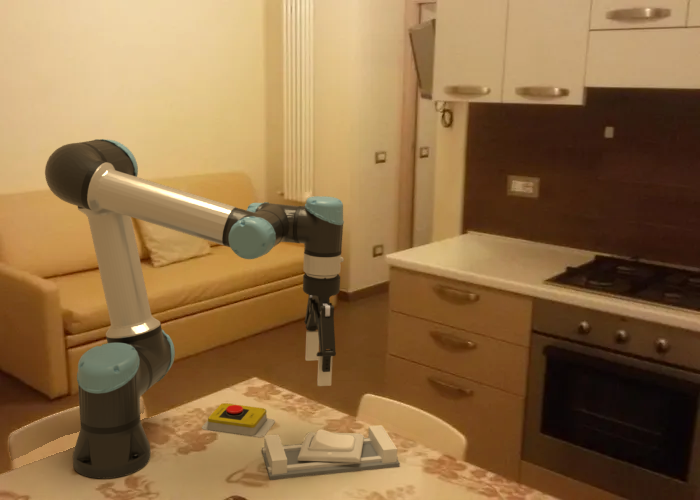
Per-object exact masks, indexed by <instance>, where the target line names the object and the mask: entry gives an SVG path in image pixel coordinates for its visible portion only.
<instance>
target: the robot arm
mask: <svg viewBox="0 0 700 500" xmlns="http://www.w3.org/2000/svg"><path fill="white" fill-rule="evenodd" d="M46 161H47V162H46V164H45V167H44V176H45V181H46V184H47V186H48V188H49V190H50V191H51V192H52V193H53V195H55V196H56V197H57V198H58V199H60V200H61V201H63V202H65V203H68V204H70V205H73V206H75V207H77V210H78V211H79V212H80V213H83V214H84V215H85V216H86V217H87V220H88V224H89V225H88V226H89V229H90V234H91V238H92V239H91V240H92V242H93V243H92V244H93V248H94V252H95V256H96V261H97V266H98V271H99V275H100V279H101V284H102V289H103V293H104V298H105V302H106V307H107V312H108V316H109V322H110V326H109V328H108V329H107V331H106V332H105V338H106V342H107V343H104V344H101V345H100V346H99V345H97V346H93V347H91V348H90V349H88V350H87V351H85V352H84V353H82V355H81V356H80V359H78V363H77V373H76V381H77V386H78V389H77V390H78V403H79V404H78V405H79V420H80V421H79V422H80V430H79V432H78V436H77V440H76V441H75V442H76V443H75V445H74V450H73V452H72V453H73V454H72V463H73V469H74V470H75V472H77V473H78V474H80V475H82V476H84V477H86V478H87V477H88V478H91V479H93V478H95V479H113V478H114V479H115V478H119V477H124V476H128V475H130V474H132V473H135V472H137V471H139V470H141V469H143V468H144V467H145V466H146V465H147V464H148V462H149V461H150V459H151V445H150V442H149V439H148V437H147V434H146V432H145V429H144V427H143V424H142V422H141V397H142V396H143V395H144V394H145V393H146V392H148V390H150V388H152V387H153V386H154V385H155V384H156V383H158V382H159V381H161V380H162V379H164V377H165V376H166V375H167V373H168V372H169V371H170V369H171V367H172V366H173V364H174V362H175V355H176V351H175V345H174V343H173V340H172V338H171V337H170V335H169V334H167V333H166V332H165V330H164V329H162V323H161V321H160V320H159V319H156V317H154V316H153V315H152V312H151V306H150V301H149V297H148V293H147V288H146V283H145V278H144V274H143V273H144V272H143V268H142V263H141V258H140V253H139V250H138V245H137V240H136V234H135V230H134V226H133V225H134V224H133V220H132V218H134V219H137V220H141V221H143V222H147V223H150V224H153V225H156V226H159V227H163V228H166V229H170V230H172V231H174V232H180V233H183V234H185V235H188V236H192V237H196V238H199V239H202V240H205V241H208V242H210V243H211V242H212V243H215V244H217V245H222V246H224V247H227V248H230V249H231V251H233V253H234V254H235V255H236V256H237V257H239V258H241V259H244V260H256V259H258V258H262V257H263V256H266V255H267V254H268V253H269V252H270V251H271V250H272V249H274V247H276V246H277V245H279V244H280V243H292V244H293V243H294V244H303V247H304V251H303V267H302V269H303V272H304V274H303V277H302V291H303V292H304V294H306V295H308V299H307V305H306V310H305V311H306V312H305V317H304V322H303V323H304V324H305V329H306V333H305V358H304V359H305V361H307V362H309V361H312V362H313V361H317V377H316V378H317V380H316V384H317V387H328V386H329V387H330V386H332V379H333V378H332V377H333V376H332V375H333V358H334V357H336V354H337V352H336V340H335V338H336V336H335V319H334V317H335V316H334V314H335V307H334V305H333V303H332V302H331V301H330V298H331V297H333V296H337V295H338V294H339V293H340V290H341V276H340V274H341V267H342V266H341V263H344V262H345V261H344V260H345V259H344V257H342V251H343V250H342V247H343V234H344V223H345V221H344V204H343V202H342V200H341V199H339V198H337V197H335V196H323V195H322V196H319V195H317V196H315V195H313V196H310V197H307V199H306V201H305V204H304V205H292V204H281V203H280V204H279V203H270V202H266V201H265V202H253V203H250V204H248V206H247V208H246V209H243V208H238V207H236V206H234V205H231V204H228V203H224V202H221V201H218V200H215V199H214V200H213V199H211V198H208V197H204V196H201V195H199V194H198V195H197V194H194V193H192V192H187V191H184V190H181V189H179V188H178V189H177V188H175V187H171V186H169V185H165V184H162V183H158V182H154V181H152V180H148V179H145V178H141V177H138V175H139V174H138V172H139V170H138V162H137V160H136V157H135V155H134V153H132V151H131V150H130V149H129V147H127V146H126V145H124V144H123V143H121V142H119V141H117V140H113V139H104V138H102V139H93V140H88V141H87V140H86V141H82V142H81V141H80V142H73V143H67V144H63V145H62V146H60V147H58V148H56V149H55V150H54V151H53V152H52V153H51V155H50V156H49V157H48V159H47V160H46Z"/></svg>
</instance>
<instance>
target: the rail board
mask: <svg viewBox="0 0 700 500" xmlns="http://www.w3.org/2000/svg"><path fill="white" fill-rule="evenodd" d="M367 434H368V436H367V437H364V442H363V448H362V453H361V458H360V462H331V461H298V456H299V453H300V450H301V447H302V445H303V443H297V444H287V445H286V444H285V445H283V444H282V440H281V437H280V435H279V433H277V434H266V435H264V437H263V439H264V440H263V441H264V443H263V444H264V445H263V447H261V454H262V457H263V461H264V464H265V467H266V470H267V475H268V477H269V478H268V479H269V480H270V481H271V480H272V481H273V480H283V479H291V478H301V477H309V476H310V477H311V476H320V475H321V476H323V475H329V474H330V475H331V474H332V475H333V474H341V473H350V472H359V471H369V470H370V471H371V470H377V469H388V468H396V467H397V468H398V467H400V461H399V459H398V458H399V457H398V448H397V446H396V445H395V443H394V441H393V440H392V439H391V437H390V435H389V434H388V431H386V429H385V428H384V426H383V425H382V424H379V425H370V426H368V433H367Z"/></svg>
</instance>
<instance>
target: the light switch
mask: <svg viewBox="0 0 700 500" xmlns="http://www.w3.org/2000/svg"><path fill="white" fill-rule="evenodd" d="M364 438H365V435H364V434H362V433H360V432H359V433H357V432H354V433H353V432H351V433H350V432H331V431H328V430H325V429H321V428H320V429H318V430H317V431H316V432H315V431H314V432H313V431H310V432H308V433H306V434H305V437H304V439H303V442H302V444H303V445H302V447H301V450H300V453H299V456H298V461H331V462H360V458H361V453H362V448H363V442H364Z"/></svg>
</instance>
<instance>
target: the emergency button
mask: <svg viewBox="0 0 700 500" xmlns="http://www.w3.org/2000/svg"><path fill="white" fill-rule="evenodd" d="M275 423H276V420H275V419H274V418H268V417H267V408H264V407H257V406H249V405H241V404H236V403H235V404H234V403H227V402H223V403H221V404H219V405H218V407H217V408H216V409H215V410H214V411H212V412H211V414H210V415H209V416H208V417H207V421H205V423H204V424H203V425H202V426H201V429H202V430H204V431H210V432H211V431H212V432H218V433H223V434H231V435H236V436H237V435H238V436H244V437H250V438H251V437H252V438H264V435H268V433H269V431H270V430H271V428H272V427H273V426H274V424H275Z"/></svg>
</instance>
